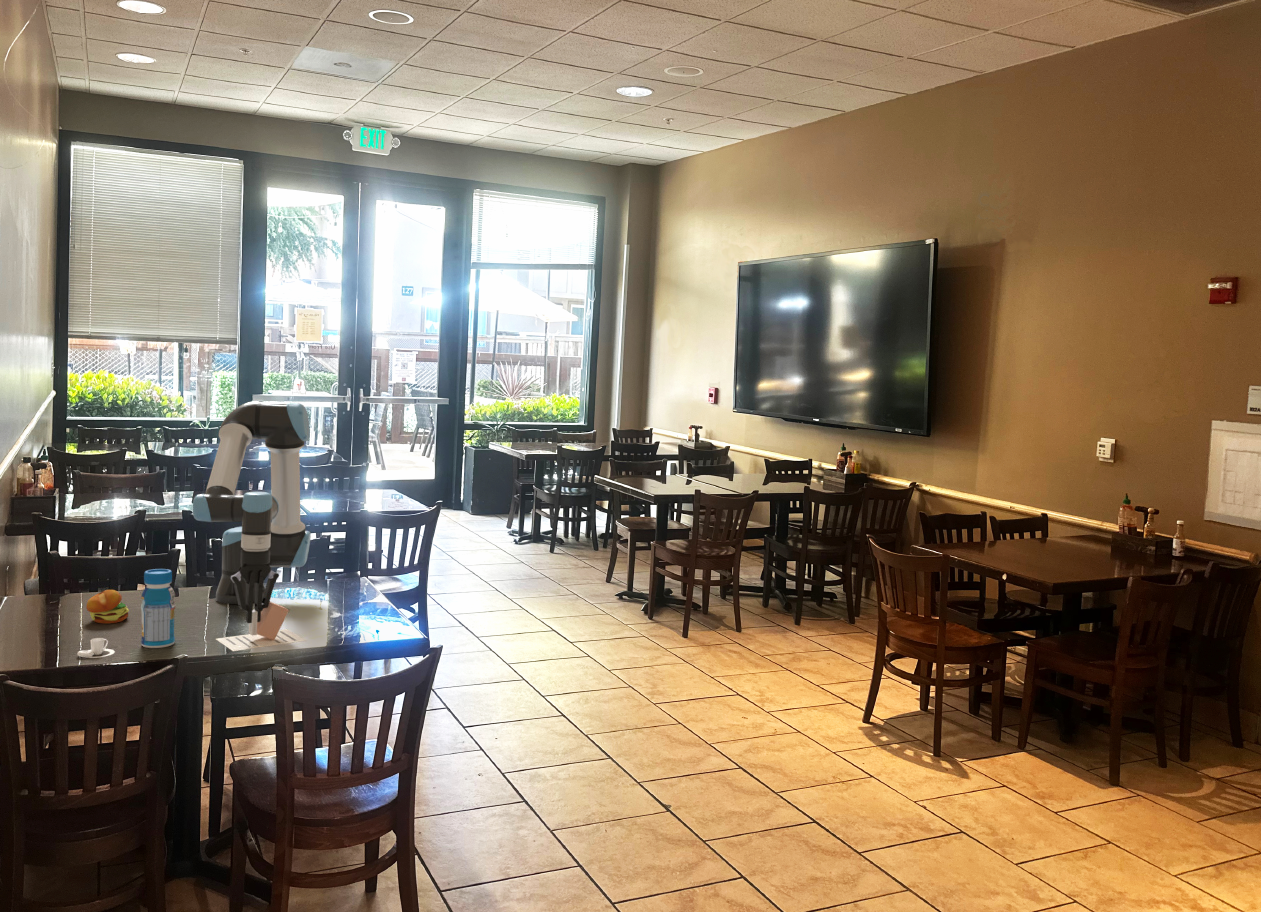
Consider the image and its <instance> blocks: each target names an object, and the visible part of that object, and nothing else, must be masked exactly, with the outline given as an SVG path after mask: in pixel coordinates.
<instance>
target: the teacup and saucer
mask: <svg viewBox="0 0 1261 912" xmlns="http://www.w3.org/2000/svg"><path fill="white" fill-rule="evenodd" d="M105 642H106V643H105ZM108 643H109V640H108V639H106V638H103V637H96V638H91V639H90V649H88V650H79V651H77V654H76V655H77V656H78V657H80V658H87V659H97V658H105V657H109V656H112V655H114V654H115V653H116V651H115V650H114V649H112V648H111V649H109V648H107V647H108ZM103 651H105V652H108V654H104V655H102V654H103ZM94 655H96V656H94ZM99 655H102V656H99Z"/></svg>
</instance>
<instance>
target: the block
mask: <svg viewBox="0 0 1261 912" xmlns="http://www.w3.org/2000/svg"><path fill="white" fill-rule="evenodd" d="M289 611H290V610H289V609H288V608H287V607H284V606H282V605H281V604H277V603H274V602H272V601H270V602H269V605H268V607H267V608H264V609H263V610H262V611H261V620H260V622H257V634H258V635H261V636H263V637H266V638H269V639H272V640H275V638H276V636H277V634H278V632H279V630H281V628H282V625H283V623H284V621H285V620H286V617H287V615H288V614H289Z"/></svg>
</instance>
